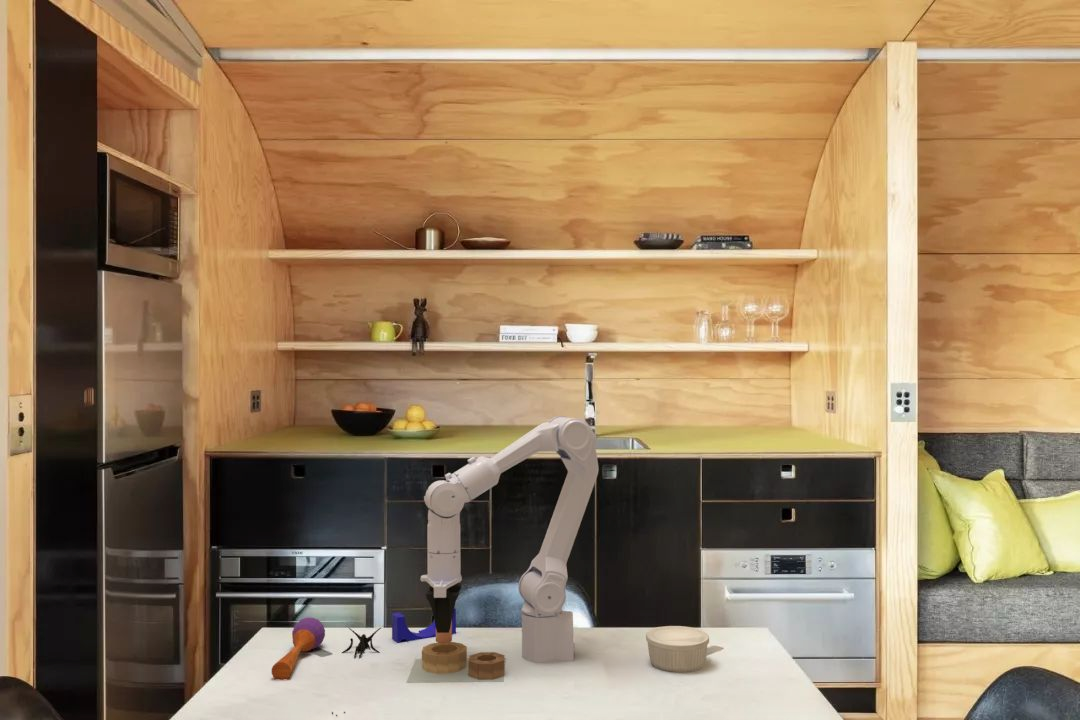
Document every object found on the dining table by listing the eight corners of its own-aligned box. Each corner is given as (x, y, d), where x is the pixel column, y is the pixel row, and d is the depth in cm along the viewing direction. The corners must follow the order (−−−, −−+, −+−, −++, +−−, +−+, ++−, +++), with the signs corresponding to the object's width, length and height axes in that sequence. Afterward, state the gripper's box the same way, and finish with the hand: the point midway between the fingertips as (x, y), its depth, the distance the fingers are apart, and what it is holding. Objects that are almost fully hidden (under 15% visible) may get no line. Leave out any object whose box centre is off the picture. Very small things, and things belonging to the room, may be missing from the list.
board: (505, 663, 156) (505, 657, 156) (503, 687, 144) (503, 681, 144) (415, 664, 156) (415, 658, 156) (406, 688, 144) (406, 682, 144)
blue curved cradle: (446, 633, 175) (446, 603, 175) (455, 639, 171) (455, 608, 171) (389, 643, 169) (389, 611, 169) (397, 649, 165) (397, 617, 165)
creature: (378, 671, 156) (387, 647, 164) (377, 643, 155) (386, 621, 163) (335, 670, 157) (345, 647, 164) (333, 643, 155) (343, 621, 163)
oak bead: (467, 658, 156) (467, 641, 156) (464, 673, 148) (464, 655, 148) (425, 659, 156) (425, 642, 156) (419, 673, 148) (419, 655, 148)
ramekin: (681, 680, 148) (681, 648, 148) (632, 663, 156) (632, 633, 156) (722, 665, 155) (722, 635, 155) (673, 650, 163) (673, 621, 164)
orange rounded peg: (452, 637, 154) (452, 597, 154) (451, 642, 151) (451, 602, 151) (436, 638, 154) (436, 598, 154) (434, 643, 151) (434, 602, 151)
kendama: (260, 657, 149) (294, 616, 169) (267, 691, 149) (301, 645, 169) (294, 651, 148) (324, 610, 168) (302, 685, 149) (331, 640, 169)
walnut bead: (504, 667, 151) (504, 652, 151) (503, 679, 145) (503, 663, 145) (470, 667, 151) (470, 652, 151) (467, 679, 145) (467, 663, 145)
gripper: (425, 542, 160) (425, 617, 159) (415, 559, 145) (415, 642, 145) (464, 542, 160) (464, 617, 159) (458, 559, 145) (458, 641, 145)
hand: (444, 629), depth 152 cm, fingers closed on orange rounded peg, 3 cm apart
